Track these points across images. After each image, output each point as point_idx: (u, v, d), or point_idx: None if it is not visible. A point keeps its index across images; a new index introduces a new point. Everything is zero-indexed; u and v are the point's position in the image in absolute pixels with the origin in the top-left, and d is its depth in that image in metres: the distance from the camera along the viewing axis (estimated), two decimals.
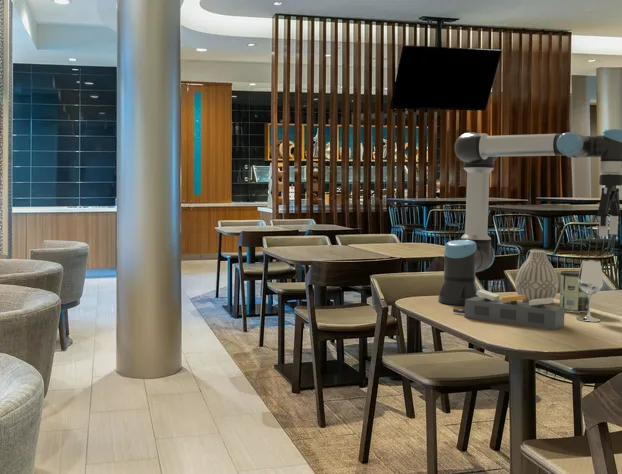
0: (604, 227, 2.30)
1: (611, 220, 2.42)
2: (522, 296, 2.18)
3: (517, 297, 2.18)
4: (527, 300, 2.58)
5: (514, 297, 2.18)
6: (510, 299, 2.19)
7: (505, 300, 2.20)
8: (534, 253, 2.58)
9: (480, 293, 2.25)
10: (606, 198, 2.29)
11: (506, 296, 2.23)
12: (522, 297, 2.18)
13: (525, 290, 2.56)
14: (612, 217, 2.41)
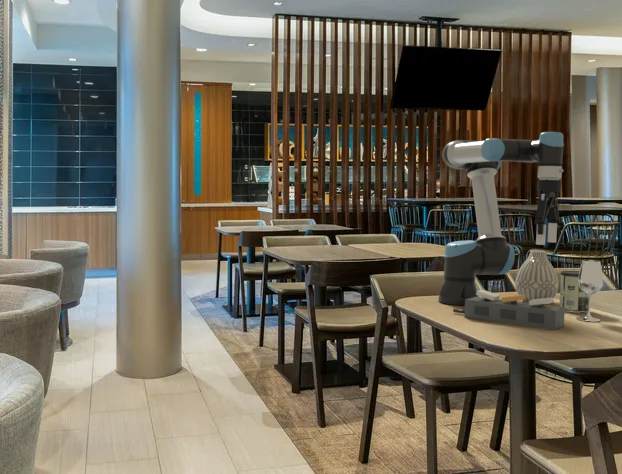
0: (541, 235, 2.19)
1: (550, 227, 2.30)
2: (522, 296, 2.18)
3: (517, 297, 2.18)
4: (527, 300, 2.58)
5: (514, 297, 2.18)
6: (510, 299, 2.19)
7: (505, 300, 2.20)
8: (534, 253, 2.58)
9: (480, 293, 2.25)
10: (543, 205, 2.17)
11: (506, 296, 2.23)
12: (522, 297, 2.18)
13: (525, 290, 2.56)
14: (551, 224, 2.30)
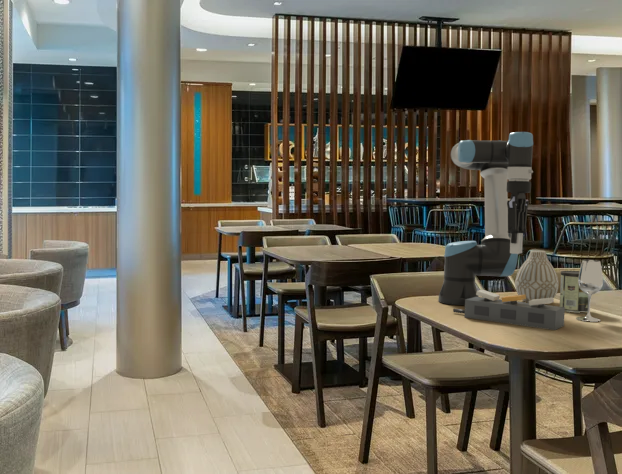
0: (515, 244, 2.18)
1: None
2: (522, 296, 2.18)
3: (517, 297, 2.18)
4: (527, 300, 2.58)
5: (514, 297, 2.18)
6: (510, 299, 2.19)
7: (505, 300, 2.20)
8: (534, 253, 2.58)
9: (480, 293, 2.25)
10: (513, 213, 2.14)
11: (506, 296, 2.23)
12: (522, 297, 2.18)
13: (525, 290, 2.56)
14: None
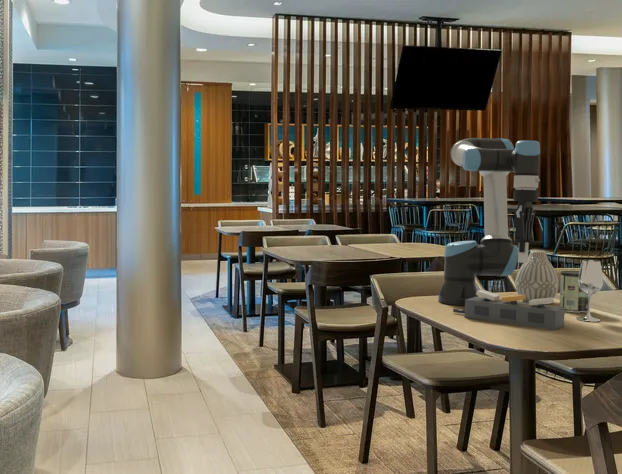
0: (523, 253, 2.17)
1: None
2: (522, 296, 2.18)
3: (517, 297, 2.18)
4: (527, 300, 2.58)
5: (514, 297, 2.18)
6: (510, 299, 2.19)
7: (505, 300, 2.20)
8: (534, 253, 2.58)
9: (480, 293, 2.25)
10: (521, 223, 2.13)
11: (506, 296, 2.23)
12: (522, 297, 2.18)
13: (525, 290, 2.56)
14: None
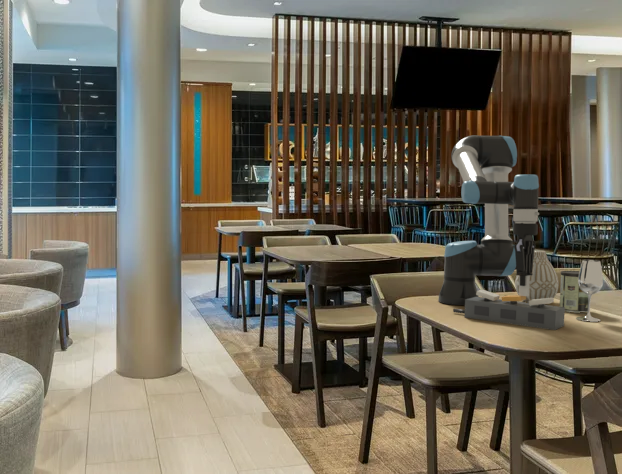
0: (524, 287, 2.17)
1: None
2: (522, 297, 2.18)
3: (517, 297, 2.18)
4: (527, 300, 2.58)
5: (514, 297, 2.18)
6: (510, 299, 2.19)
7: (505, 300, 2.20)
8: (534, 253, 2.58)
9: (480, 293, 2.25)
10: (521, 257, 2.13)
11: None
12: (522, 298, 2.18)
13: None
14: None
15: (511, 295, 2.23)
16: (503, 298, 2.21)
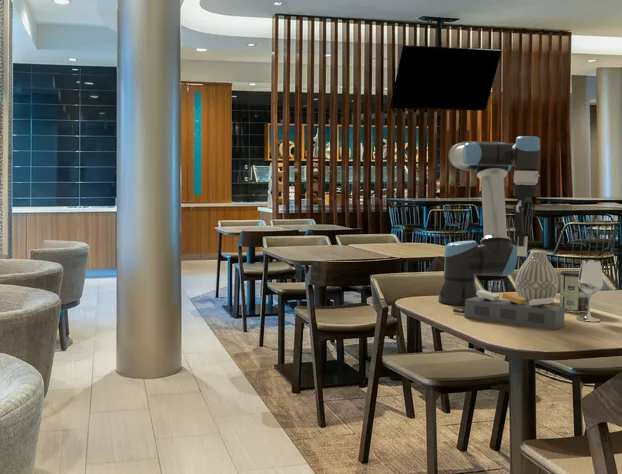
0: (522, 247, 2.22)
1: None
2: (523, 300, 2.18)
3: (518, 300, 2.18)
4: (527, 300, 2.58)
5: (515, 299, 2.18)
6: (510, 299, 2.19)
7: (505, 297, 2.20)
8: (534, 253, 2.58)
9: (480, 293, 2.25)
10: (520, 218, 2.17)
11: (507, 293, 2.23)
12: (522, 301, 2.18)
13: (525, 290, 2.56)
14: None
15: (512, 294, 2.23)
16: (504, 295, 2.20)
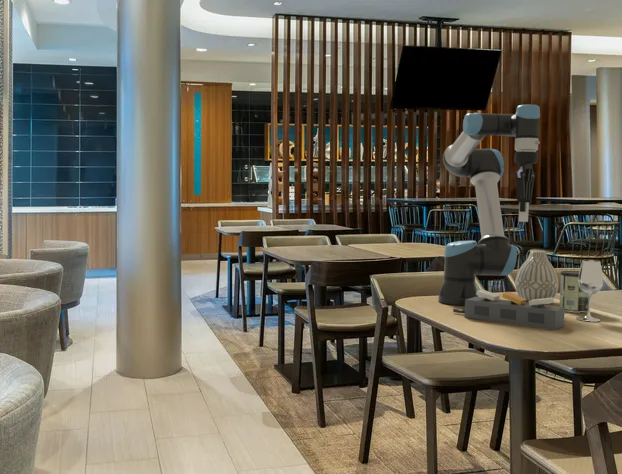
0: (524, 213, 2.28)
1: None
2: (522, 301, 2.18)
3: (518, 300, 2.18)
4: (527, 300, 2.58)
5: (515, 299, 2.18)
6: (510, 299, 2.19)
7: (505, 297, 2.20)
8: (534, 253, 2.58)
9: (480, 293, 2.25)
10: (521, 183, 2.24)
11: (508, 292, 2.23)
12: (522, 302, 2.18)
13: (525, 290, 2.56)
14: None
15: None
16: (504, 295, 2.20)
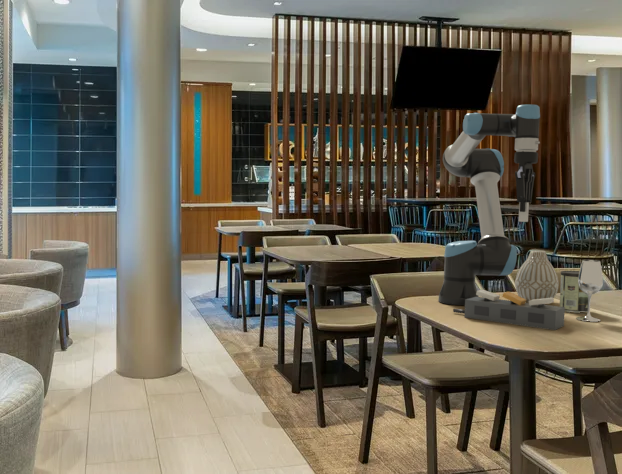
0: (524, 213, 2.28)
1: None
2: (522, 301, 2.18)
3: (518, 301, 2.18)
4: (527, 300, 2.58)
5: (515, 299, 2.18)
6: (510, 299, 2.19)
7: (505, 297, 2.20)
8: (534, 253, 2.58)
9: (480, 293, 2.25)
10: (521, 183, 2.24)
11: (508, 292, 2.23)
12: (522, 302, 2.18)
13: (525, 290, 2.56)
14: None
15: None
16: (504, 294, 2.20)
